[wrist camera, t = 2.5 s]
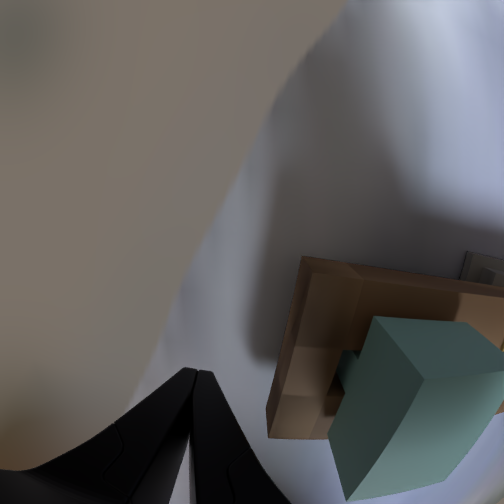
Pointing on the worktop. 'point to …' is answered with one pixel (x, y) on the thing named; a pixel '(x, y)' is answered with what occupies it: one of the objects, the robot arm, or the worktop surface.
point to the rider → (412, 404)
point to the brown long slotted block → (365, 328)
